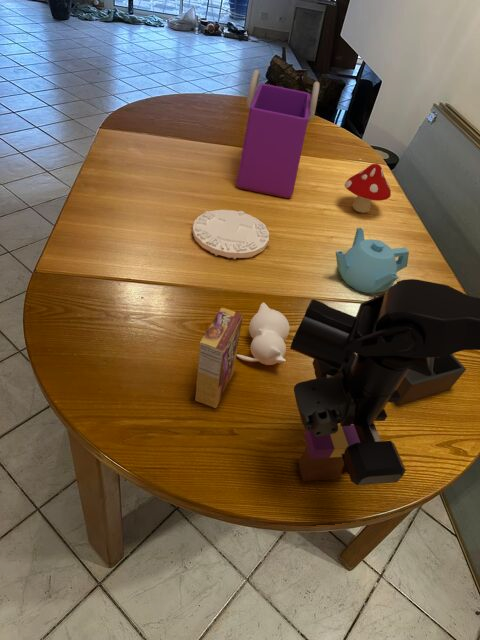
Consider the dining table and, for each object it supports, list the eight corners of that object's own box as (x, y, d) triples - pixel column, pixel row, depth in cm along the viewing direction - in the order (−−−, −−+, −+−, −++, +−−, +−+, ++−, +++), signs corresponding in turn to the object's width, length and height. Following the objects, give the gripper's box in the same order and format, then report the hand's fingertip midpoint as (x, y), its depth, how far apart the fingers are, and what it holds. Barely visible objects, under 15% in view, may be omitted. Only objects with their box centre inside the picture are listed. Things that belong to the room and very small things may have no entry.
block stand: (333, 460, 68) (348, 435, 62) (338, 478, 66) (355, 454, 60) (297, 463, 67) (310, 437, 61) (302, 481, 65) (316, 456, 59)
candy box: (212, 364, 79) (221, 305, 68) (233, 372, 78) (246, 314, 67) (192, 400, 72) (198, 341, 62) (215, 409, 72) (225, 351, 61)
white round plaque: (281, 238, 113) (283, 228, 111) (240, 270, 100) (242, 261, 98) (221, 209, 119) (222, 199, 117) (176, 236, 107) (176, 226, 105)
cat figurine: (280, 341, 72) (280, 294, 81) (224, 354, 76) (230, 308, 84) (296, 370, 78) (295, 323, 86) (244, 381, 81) (248, 335, 90)
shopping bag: (306, 201, 130) (335, 97, 109) (236, 194, 127) (252, 86, 106) (293, 162, 150) (315, 67, 129) (233, 155, 147) (245, 57, 126)
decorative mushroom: (339, 218, 125) (356, 170, 115) (334, 196, 135) (349, 150, 125) (385, 225, 126) (405, 178, 116) (377, 203, 136) (395, 158, 126)
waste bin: (449, 389, 83) (466, 369, 78) (397, 406, 78) (411, 385, 73) (408, 341, 91) (421, 320, 86) (358, 353, 86) (369, 332, 82)
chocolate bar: (354, 433, 63) (360, 424, 61) (362, 455, 60) (368, 446, 59) (303, 435, 61) (308, 426, 60) (309, 459, 59) (314, 450, 57)
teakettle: (382, 308, 98) (400, 272, 90) (324, 280, 102) (337, 243, 95) (400, 278, 108) (419, 243, 100) (347, 253, 112) (361, 218, 105)
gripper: (291, 320, 54) (268, 391, 65) (333, 453, 41) (296, 514, 52) (370, 320, 56) (336, 388, 67) (433, 447, 44) (378, 506, 54)
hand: (335, 442), depth 60 cm, fingers open, 9 cm apart
